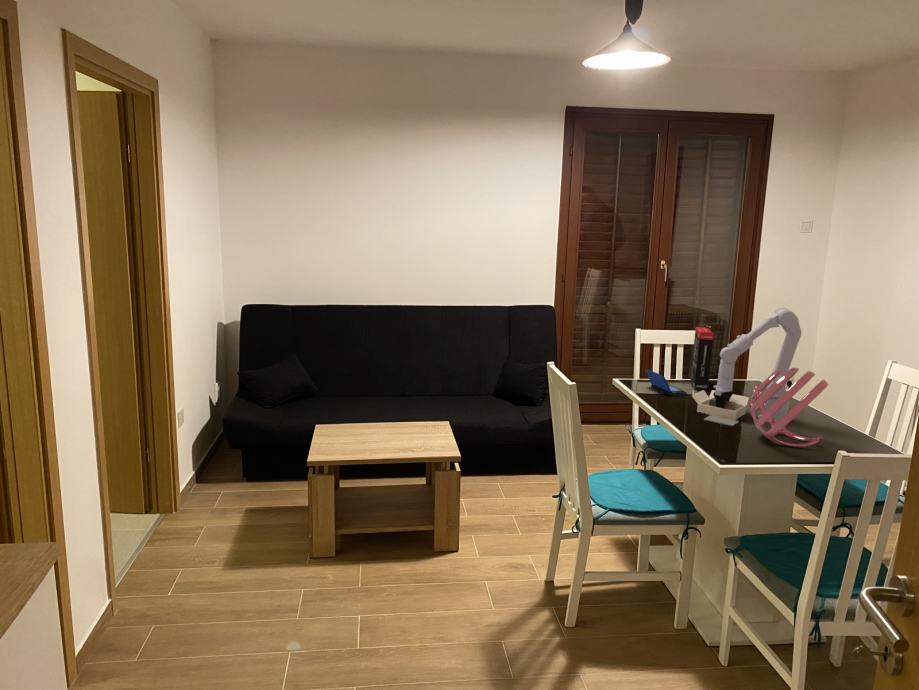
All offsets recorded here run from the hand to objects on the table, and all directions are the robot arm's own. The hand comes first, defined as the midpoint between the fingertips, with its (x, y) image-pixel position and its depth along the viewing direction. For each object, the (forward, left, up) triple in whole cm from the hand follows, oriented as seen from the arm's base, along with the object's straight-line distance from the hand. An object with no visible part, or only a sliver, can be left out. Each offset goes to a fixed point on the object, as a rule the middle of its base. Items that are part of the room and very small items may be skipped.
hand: (721, 409), depth 278 cm
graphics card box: (+23, -38, -2) cm, 44 cm away
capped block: (0, 0, -1) cm, 1 cm away
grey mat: (-4, +12, -1) cm, 13 cm away
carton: (0, -1, -1) cm, 2 cm away
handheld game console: (+30, -16, -2) cm, 35 cm away
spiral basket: (-28, +19, -2) cm, 34 cm away
